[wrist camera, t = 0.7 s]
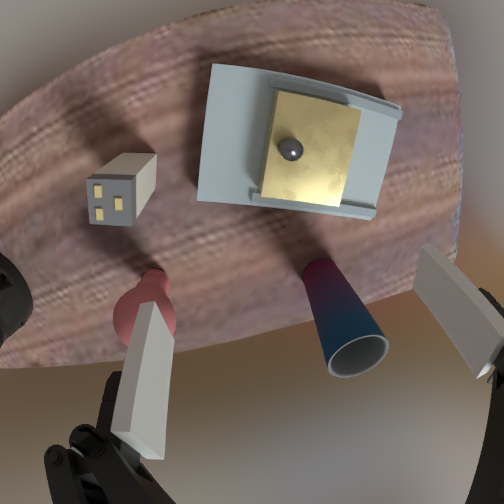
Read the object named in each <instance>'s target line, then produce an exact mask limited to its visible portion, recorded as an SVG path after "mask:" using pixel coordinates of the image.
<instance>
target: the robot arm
mask: <svg viewBox="0 0 504 504" xmlns="http://www.w3.org/2000/svg"><path fill="white" fill-rule="evenodd" d="M413 289H414V290H415V292H416V293H417V294H418V295H419V296H420V298H421V299H422V300H423V302H424V303H425V305H426V306H427V307H428V308H429V310H430V311H431V312H432V314H433V315H434V317H435V318H436V319H437V321H438V322H439V324H440V325H441V326H442V328H443V329H444V331H445V332H446V333H447V335H448V336H449V338H450V339H451V341H452V342H453V344H454V345H455V347H456V348H457V349H458V351H459V353H460V354H461V355H462V357H463V359H464V360H465V362H466V363H467V365H468V366H469V368H470V370H471V371H472V373H473V374H474V376H475V377H476V379H477V378H479V377H480V376H482V375H483V374H485V373H487V372H488V371H489V369H490V368H491V366H492V365H493V364H494V365H495V367H496V368H495V370H494V371H493V373H492V374H491V376H490V377H489V379H488V381H487V383H489V382H490V381H491V379H492V378H493V382H492V393H491V402H490V409H489V416H488V421H487V427H486V432H485V437H484V441H483V446H482V450H481V455H480V458H479V463H478V466H477V470H476V473H475V476H474V479H473V483H472V486H471V489H470V492H469V494H468V497H467V500H466V503H465V504H504V308H502V307H501V305H500V304H499V303H498V302H496V299H495V298H494V297H493V296H492V295H491V294H490V293H489V292H487V291H486V290H484V289H482V288H479V289H477V288H476V287H475V285H474V284H473V283H472V282H471V281H470V280H469V279H468V278H467V277H466V276H465V275H464V274H463V273H462V272H461V271H460V270H459V269H458V268H457V267H456V266H455V265H454V264H453V263H452V262H451V261H450V260H449V259H448V258H447V257H446V256H445V255H444V254H443V253H442V252H441V251H440V250H439V249H438V248H437V247H435V246H434V245H433V244H432V243H429V244H425V245H421V246H420V251H419V257H418V263H417V269H416V275H415V280H414V285H413ZM32 310H33V301H32V296H31V293H30V290H29V288H28V286H27V284H26V282H25V280H24V279H23V277H22V276H21V274H20V273H19V272H18V270H17V269H16V268H15V267H14V266H13V265H12V264H11V263H10V262H9V261H8V260H7V259H6V258H5V257H3V256H2V255H0V348H1V346H2V344H3V342H4V341H5V340H6V339H7V338H8V337H9V336H11V335H12V334H13V333H14V332H16V331H17V330H18V329H19V328H21V327H22V326H24V325H25V323H26V322H27V320H28V319H29V317H30V315H31V313H32ZM173 348H174V339H173V337H172V335H171V333H170V331H169V329H168V327H167V325H166V323H165V321H164V319H163V317H162V315H161V313H160V311H159V309H158V307H157V304H156V302H155V301H152V302H146V303H140V307H139V310H138V313H137V317H136V320H135V324H134V328H133V331H132V335H131V339H130V343H129V347H128V351H127V355H126V359H125V363H124V367H123V371H115V372H112V374H111V375H110V377H109V378H108V380H107V382H106V386H105V390H104V394H103V398H102V403H101V407H100V411H99V416H98V420H97V425H96V428H94V427H93V426H91V425H89V424H81V425H79V426H77V427H76V428H75V429H74V430H73V431H72V433H71V435H70V438H69V444H70V448H71V449H65V448H64V447H63V446H61V445H58V444H57V445H52V446H51V447H49V448H48V450H47V451H46V453H45V455H44V464H45V469H46V475H47V480H48V484H49V489H50V493H51V498H52V501H53V504H176V503H175V502H174V501H173V500H172V499H171V498H170V496H169V495H168V494H167V493H166V492H165V491H164V490H163V488H161V486H160V485H159V484H158V483H157V481H156V480H155V479H154V478H153V477H152V475H151V474H150V473H149V472H148V470H147V469H146V468H145V466H144V465H143V464H142V463H141V462H140V454H141V455H142V456H143V457H145V458H146V459H164V454H165V436H166V421H167V408H168V396H169V386H170V375H171V366H172V357H173V356H172V355H173Z"/></svg>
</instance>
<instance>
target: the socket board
mask: <svg viewBox="0 0 504 504" xmlns="http://www.w3.org/2000/svg"><path fill="white" fill-rule="evenodd" d="M274 91H282V92H288V93H293V94H298V95H303V96H307V97H312V98H316V99H321V100H325V101H329V102H333V103H337V104H341V105H345V106H348V107H352V108H355V109H359V110H362V111H361V116H360V121H359V126H358V131H357V135H356V140H355V144H354V148H353V153H352V157H351V161H350V165H349V169H348V174H347V178H346V181H345V185H344V189H343V193H342V197H341V201H340V204H339V207H338V206H331V205H324V204H316V203H309V202H301V201H293V200H285V199H277V198H268V197H261V196H260V193H259V190H258V184H259V178H260V172H261V166H262V160H263V154H264V147H265V141H266V135H267V129H268V123H269V117H270V111H271V105H272V99H273V93H274ZM400 108H401V106H398V105H396V104H393V103H390V102H388V101H385V100H382V99H379V98H376V97H373V96H370V95H367V94H364V93H361V92H358V91H354V90H351V89H348V88H344V87H341V86H337V85H333V84H330V83H326V82H322V81H318V80H314V79H309V78H305V77H300V76H296V75H291V74H286V73H280V72H275V71H269V70H263V69H256V68H249V67H241V66H233V65H224V64H212V71H211V78H210V85H209V92H208V99H207V107H206V115H205V123H204V132H203V141H202V150H201V160H200V170H199V181H198V193H197V201H209V202H221V203H232V204H242V205H252V206H262V207H272V208H281V209H290V210H298V211H306V212H314V213H322V214H330V215H337V216H345V217H352V218H359V219H366V220H371V219H372V217H373V218H375V215H376V212H377V209H375V206H376V203H377V199H378V196H379V193H380V189H381V186H382V182H383V178H384V175H385V171H386V167H387V164H388V160H389V156H390V152H391V148H392V144H393V140H394V135H395V131H396V127H397V122H398V120H401V118H402V113H403V112H401V111H400Z"/></svg>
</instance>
